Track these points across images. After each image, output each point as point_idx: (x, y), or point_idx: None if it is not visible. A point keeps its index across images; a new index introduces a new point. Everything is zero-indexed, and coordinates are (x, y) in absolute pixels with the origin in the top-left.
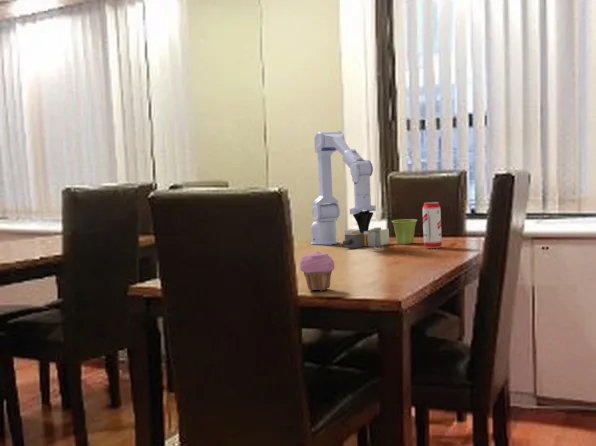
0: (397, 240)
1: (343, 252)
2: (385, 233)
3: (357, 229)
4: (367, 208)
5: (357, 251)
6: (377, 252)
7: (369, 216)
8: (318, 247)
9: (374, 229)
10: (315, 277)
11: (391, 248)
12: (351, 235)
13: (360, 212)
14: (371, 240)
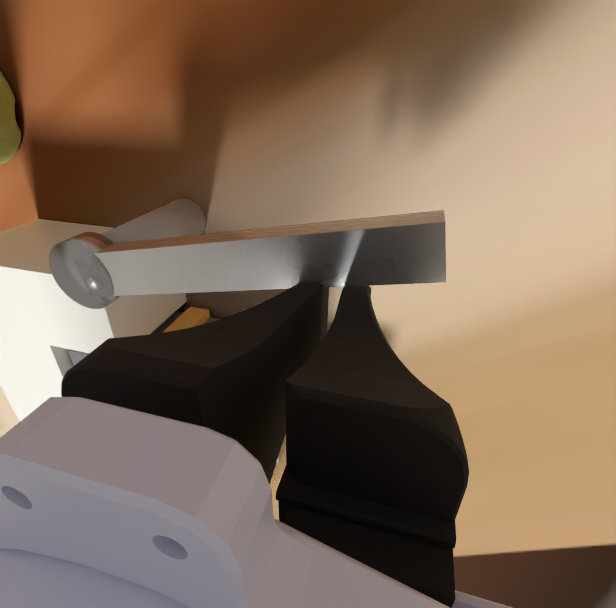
0: (1, 142)
1: (526, 339)
2: (5, 248)
3: None
4: (302, 593)
5: (459, 259)
6: (531, 16)
7: (239, 359)
8: None
9: (202, 243)
10: None
11: (224, 43)
12: None
13: (451, 592)
14: None
